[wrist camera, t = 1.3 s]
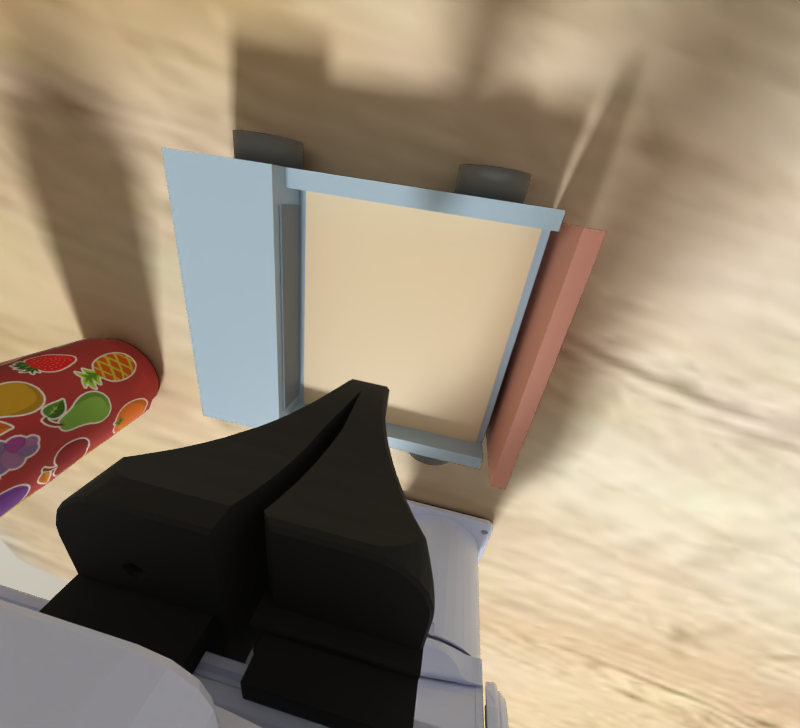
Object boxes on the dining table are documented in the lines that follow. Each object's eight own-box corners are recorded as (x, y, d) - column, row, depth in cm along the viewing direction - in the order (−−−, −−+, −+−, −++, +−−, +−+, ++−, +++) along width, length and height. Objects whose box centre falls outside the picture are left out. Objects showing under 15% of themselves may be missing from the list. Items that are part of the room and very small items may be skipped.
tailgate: (497, 428, 23) (505, 489, 18) (485, 425, 23) (490, 485, 18) (566, 223, 17) (606, 231, 12) (550, 221, 17) (583, 228, 12)
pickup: (473, 443, 24) (474, 498, 19) (250, 391, 25) (203, 430, 21) (554, 182, 16) (585, 174, 12) (231, 135, 18) (153, 112, 14)
